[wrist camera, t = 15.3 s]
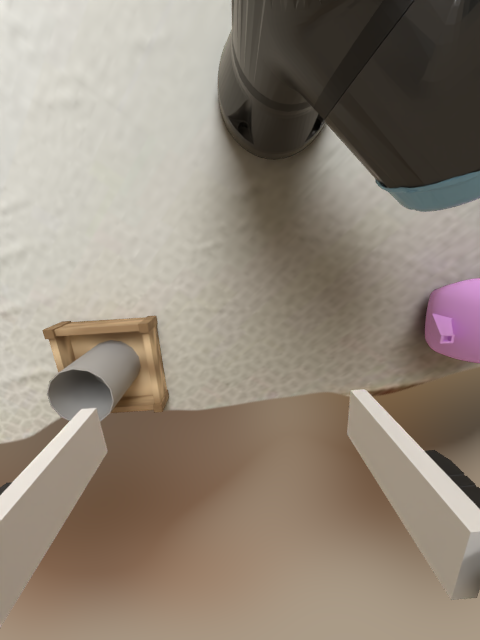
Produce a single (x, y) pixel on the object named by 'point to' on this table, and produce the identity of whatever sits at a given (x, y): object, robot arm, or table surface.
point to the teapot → (455, 320)
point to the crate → (134, 332)
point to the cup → (94, 380)
